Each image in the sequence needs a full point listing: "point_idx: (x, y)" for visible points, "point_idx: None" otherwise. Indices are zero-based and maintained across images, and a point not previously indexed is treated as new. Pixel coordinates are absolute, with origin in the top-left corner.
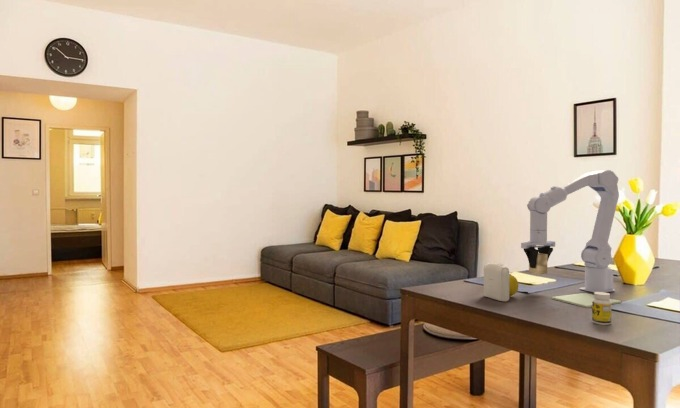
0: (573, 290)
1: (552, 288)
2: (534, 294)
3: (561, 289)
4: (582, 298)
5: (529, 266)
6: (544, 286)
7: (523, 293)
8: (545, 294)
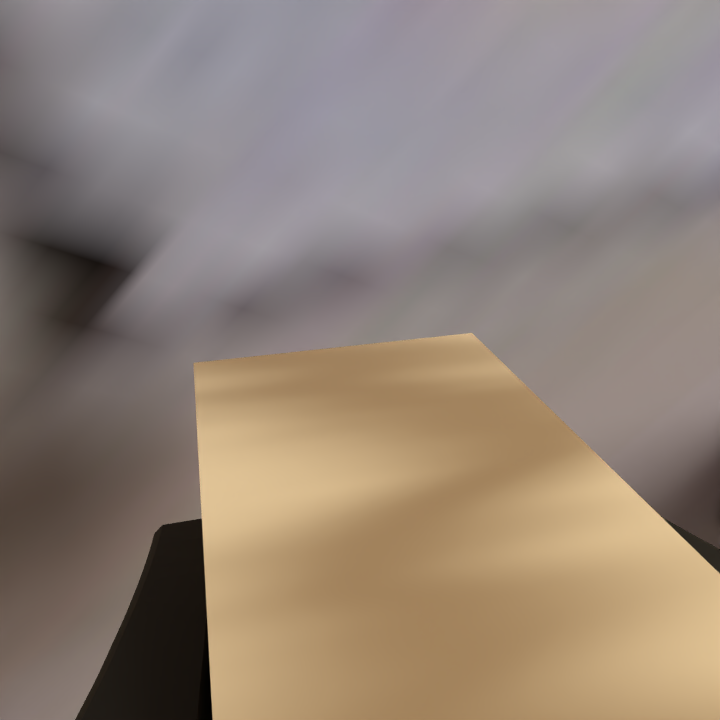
0: (701, 363)
1: (626, 196)
2: (136, 412)
3: (655, 282)
4: None
5: (201, 465)
6: (662, 36)
7: (16, 321)
8: None
